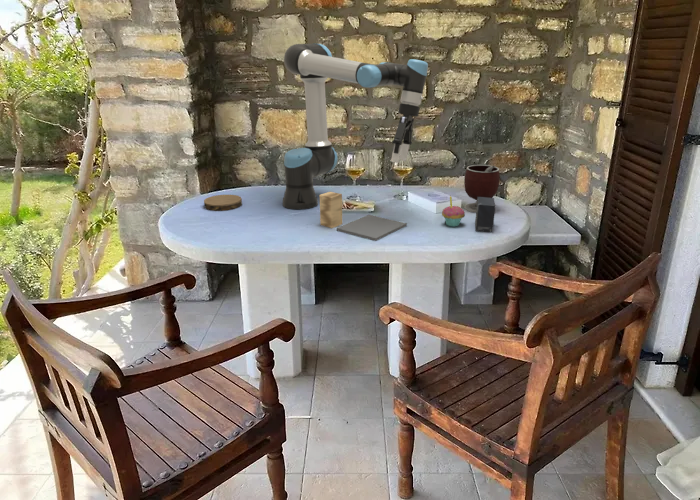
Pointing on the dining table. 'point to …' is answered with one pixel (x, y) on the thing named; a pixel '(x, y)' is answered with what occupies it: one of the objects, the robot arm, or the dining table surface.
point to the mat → (371, 227)
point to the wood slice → (223, 202)
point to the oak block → (330, 209)
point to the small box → (485, 214)
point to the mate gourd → (480, 183)
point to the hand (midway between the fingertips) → (398, 161)
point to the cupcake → (453, 214)
